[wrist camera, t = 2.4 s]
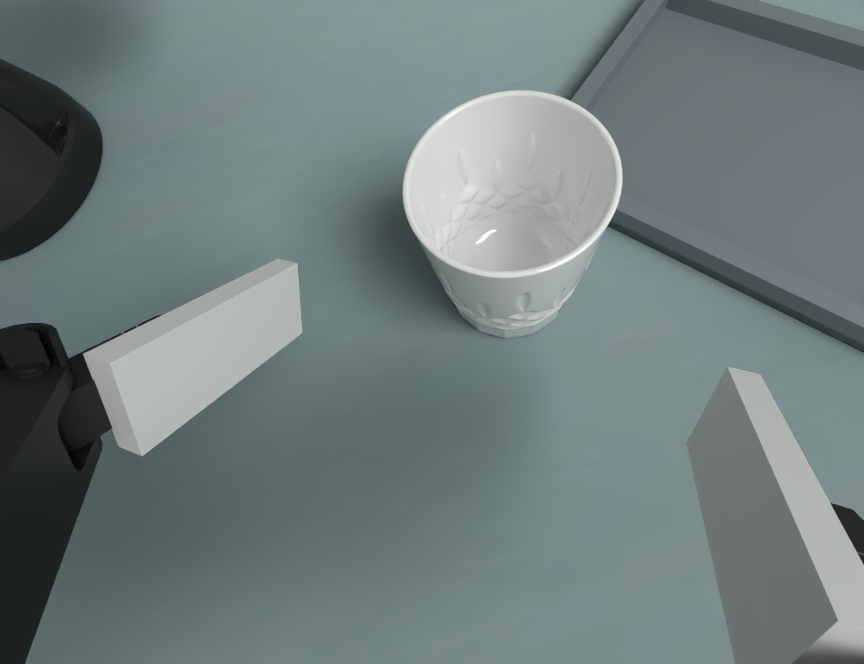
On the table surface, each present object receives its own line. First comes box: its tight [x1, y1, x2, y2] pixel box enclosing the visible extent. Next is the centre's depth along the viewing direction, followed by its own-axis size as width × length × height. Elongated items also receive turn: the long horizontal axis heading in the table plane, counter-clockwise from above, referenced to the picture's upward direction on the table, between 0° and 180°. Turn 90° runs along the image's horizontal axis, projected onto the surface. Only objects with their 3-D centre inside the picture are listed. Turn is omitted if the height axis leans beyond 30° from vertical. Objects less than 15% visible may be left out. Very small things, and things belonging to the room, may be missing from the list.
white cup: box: [402, 90, 622, 339], centre depth 20 cm, size 8×8×10 cm
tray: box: [571, 0, 864, 352], centre depth 24 cm, size 20×16×2 cm
